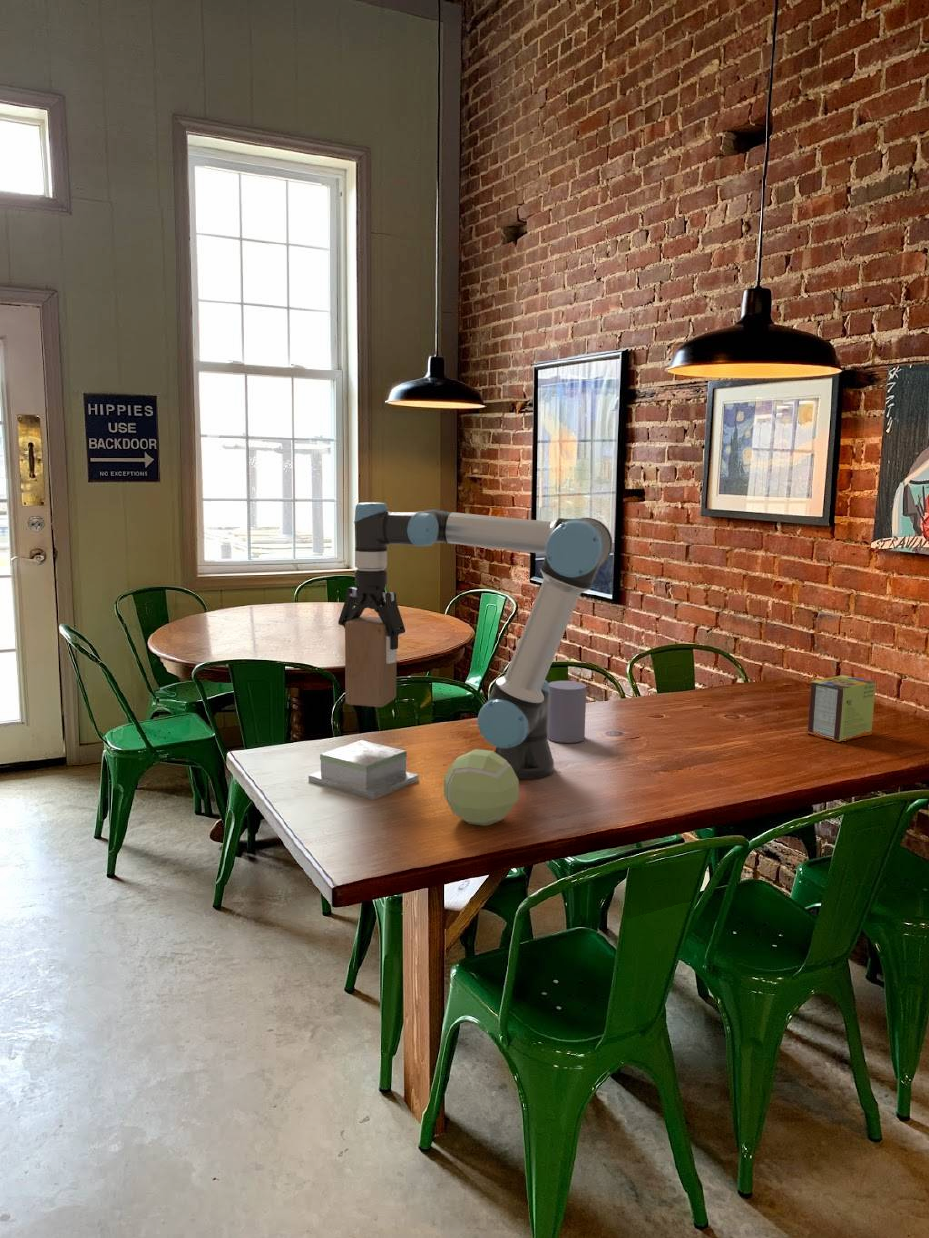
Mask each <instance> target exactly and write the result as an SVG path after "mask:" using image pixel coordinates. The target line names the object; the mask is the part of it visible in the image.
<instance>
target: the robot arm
mask: <svg viewBox="0 0 929 1238" xmlns="http://www.w3.org/2000/svg"><path fill="white" fill-rule="evenodd" d="M354 508H355V509H354V521H353V523H354V567H355V568H356V569H355V571H354V584H355V586H351V587H347V588H346V597H345V600H344V603H343V606H342V610H341V611H340V616H339V618H338V625H339V626H342V627H343V628H344V629H345V624H346V622H348V621H351V620H353V619H356V618H358V617H361V616H362V614H363V612H364V611H365V609H370V610H374V611H375V612H376V614H378V617H380V619H381V620H382V622H383V623H384V624H385V625H386V630H387V632H388V635H387V636H386V663H387V664H390V663H394V662H396V663H397V655H396V649H397V650H398V648H399V635H402V634H405V632H406V629H405V628H406V627H405V625H404V621H403V618H402V615H401V612H400V609H399V606H398V602H397V593H396V592H395V591H391V592H386V586H387V585H388V571H387V570H386V568H387V567H388V545H397V546H398V545H401V546H413V547H414V546H416V547H430V546H434V544H435V543H439V544H440V543H441V544H451V545H463V546H468V547H469V546H473V547H479V548H488V549H498V550H499V549H500V550H506V551H517V552H523V553H524V552H525V553H533V554H542V555H545V556H544V559H543V562H542V564H541V567H540V570H539V572H540V574H542V575H541V576H542V579H543V580H542V582H541V586H540V588H539V591H538V592H537V595H536V598H535V600H534V603H533V605H532V608H531V610H530V613H529V616H528V618H527V620H526V623H525V625H524V628H523V631H522V633H521V635H520V638H519V641H518V643H517V645H516V648H515V651H514V653H513V655H512V658H511V660H510V663H509V666H508V668H507V670H506V673H505V675H502V676H500V677H497V679H496V680H495V683H494V684H493V687H492V690H491V692H490V695H489V697H488V699H487V701H486V702H485V703H484V704H483V705H482V707H480V710H479V712H478V716H477V726H478V728H477V729H478V730H479V732H480V734H481V737H483V739H484V740H485V741H486V742H487V743H489V744H490V745H491V746H494V747H495V750H494V752H495V753H497V754H498V755H499V756H501V757H502V758H504V759H505V760H507V762H508V763H509V764H510V765H511V766H512V768H513V770H514V772H515V774H516V776H517V778H518V780H535V779H542V778H546V777H549V776H550V775H552V774H553V773H554V769H555V768H554V767H555V762H554V761H555V760H554V757H553V755H552V752H551V748H550V745H549V741H548V740H549V739H548V738H547V733H548V704H549V693H550V692H549V685H548V684H549V682H548V681H547V680H546V678H547V676H548V673H549V671H550V668H551V666H552V664H553V661H554V659H555V655H556V653H557V651H558V648H560V647H559V646H560V643H561V641H562V639H563V637H564V634H565V632H566V629H567V626H568V625H569V622H570V620H571V617H572V615H573V612H574V610H575V608H576V605H577V603H578V600H579V598H580V595H581V594H582V593H585V592H587V591H590V589H591V587H592V585H593V582H594V580H595V578H596V575H597V573H598V571H599V568H600V566H601V565H603V564H604V563H605V562H606V561H607V560H608V559H609V557H610V556H611V553H612V549H613V537H612V534H611V532H610V530H609V528H608V527H607V526H606V525H605V524H604V522H602V521H600V520H598V519H595V518H592V517H580V518H562V517H561V518H559V517H557V518H556V519H555V520H554V521H549V520H548V521H546V520H537V519H536V520H535V519H526V518H516V517H515V518H514V517H507V516H506V517H503V516H494V515H484V514H473V513H465V512H464V513H462V512H450V511H444V510H442V509H441V510H440V509H427V510H421V511H413V512H412V511H411V512H407V511H406V512H405V511H403V512H402V511H401V512H396V511H394V512H393V511H389V509H388V505H387V504H386V503H385V502H367V501H366V502H359V503H357V504H356V505H355V507H354Z"/></svg>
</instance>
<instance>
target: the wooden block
mask: <svg viewBox="0 0 929 1238" xmlns="http://www.w3.org/2000/svg"><path fill="white" fill-rule="evenodd" d="M387 635H388V632H387V630H386V625H385V624H384V623H383V622H382V620H381V619H380V617H379V616H364V615H363V616H362V615H361V616H360V617H358V618H356V619H353V620H351V621H348V622H346V624H345V628H344V655H345V656H344V661H345V662H344V667H345V669H344V671H345V672H344V676H345V677H344V678H345V679H344V681H345V686H344V687H345V692H344V693H345V694H344V696H345V697H344V698H345V704H347V705H350V706H360V707H373V708H374V707H375V708H384V707H385V706H387V705H388V704H389V703H391V702H392V701H393V700H395V699H396V697H397V661H396V662H394V663H390V664H387V663H386V636H387ZM397 650H398V649H396V656H397V653H398V651H397Z"/></svg>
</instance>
